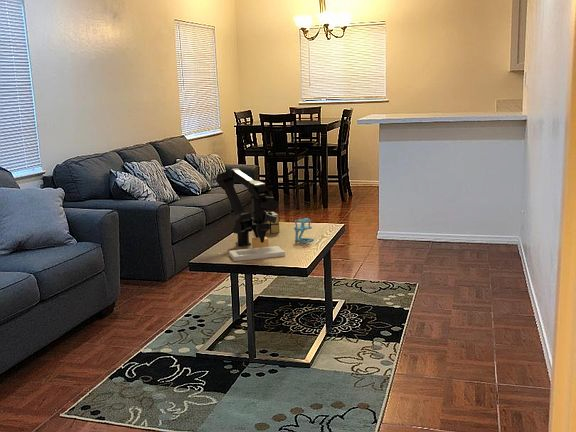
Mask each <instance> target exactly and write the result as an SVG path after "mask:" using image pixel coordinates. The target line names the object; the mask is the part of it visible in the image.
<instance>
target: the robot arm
mask: <svg viewBox="0 0 576 432" xmlns="http://www.w3.org/2000/svg"><path fill="white" fill-rule="evenodd" d="M215 179H216V183H217V184H218V187H220V188H221V190H223V191H224V192H225V194H226V196H227V198H228V201H229V203H230V205H231V208H232V210H233V212H234V215H235V219H234V223H235V225H234V227H232V231H233V234H236V235H237V242H235V244H236V245H237V246H238V247H240V246H241V247H242V246H250V245H251V246H252V242H250V234H249V233H250V232H253V234H254V236H255V238H258V237H259V239H260V241H261V243H263V242H264V238H265V237H266V235H267V234H266V232H267V231H268V230H269V229H270V225H269V224H268V223H267V221H269V222H273V223H275V222H276V219H277V217H276V216H274V215H272V213H271V212H275V211H276V210H277V208H278V204H279V203H278V202H277V200H276V199H275V197H274V196H271V194H270V192H269V190H268V188H267V186H266V184H265V183H264V182H262V181H259V180H254V179H253V178H252V177H250V176H248V175H247V174H246V173H244V172H242V171H241V170H240V169H239V168H238V167H237V168H230V169H229V170H226V171H224V172H219V173H217V174H216V177H215ZM235 180H236V181H237V182H238V183H240V184H241V185H243V186H244V187H246V188H247V192H249V194H250V195H251V196H250V197H249V200H252V210H251V212H246V211H245V209H244V206H243V205H242V202H241V200H240V197H239V195H238V193H237V190H236V189H235V186H234V185H235ZM266 212H268V213H266ZM251 213H252V214H251Z"/></svg>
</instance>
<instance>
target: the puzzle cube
mask: <svg viewBox="0 0 576 432" xmlns="http://www.w3.org/2000/svg"><path fill="white" fill-rule="evenodd" d="M268 212H269V211H266V213H268ZM270 212H271V213H272V215H274V216H276V217H277V219H276V222H275V223H273V222H269V221H267V223H268V224H269V225H270V229H269V230H268V231H267V232H266V234H265V235H268V234H279V233H280V215H279V214H278V213H276V212H275V211H273V212H272V211H270Z"/></svg>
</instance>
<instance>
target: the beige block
mask: <svg viewBox="0 0 576 432" xmlns="http://www.w3.org/2000/svg"><path fill="white" fill-rule="evenodd" d="M251 246H252V247H251V249H252V248H262V247H270V246H269V238H268V237H267V236H265V238H264V242H263V243H261V241H260V239H259V237H258V238H256V237H251Z"/></svg>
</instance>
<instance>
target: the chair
mask: <svg viewBox="0 0 576 432" xmlns="http://www.w3.org/2000/svg"><path fill="white" fill-rule="evenodd" d="M311 222H312V220H311V219H310V218H309V217H304V218H301V219H300V218H299V219H297V220H294V224H295V227H293V230H294V231H295V239H294V240H295V242H299V243H301V244H307V243H310V242H313V241H315V238H311V237H302V236H303V234H304V232H305V231H307V230H311V229H312V226H311ZM298 223H300V225H299V226H298ZM307 223H308V225H307V226H306V225H305V224H307ZM299 232H300V233H299Z"/></svg>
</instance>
